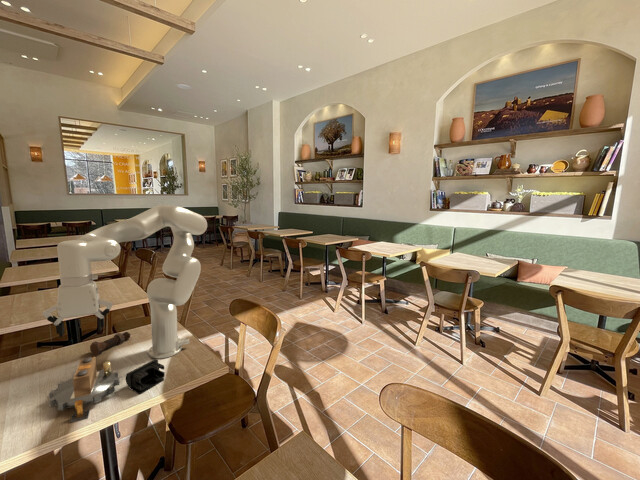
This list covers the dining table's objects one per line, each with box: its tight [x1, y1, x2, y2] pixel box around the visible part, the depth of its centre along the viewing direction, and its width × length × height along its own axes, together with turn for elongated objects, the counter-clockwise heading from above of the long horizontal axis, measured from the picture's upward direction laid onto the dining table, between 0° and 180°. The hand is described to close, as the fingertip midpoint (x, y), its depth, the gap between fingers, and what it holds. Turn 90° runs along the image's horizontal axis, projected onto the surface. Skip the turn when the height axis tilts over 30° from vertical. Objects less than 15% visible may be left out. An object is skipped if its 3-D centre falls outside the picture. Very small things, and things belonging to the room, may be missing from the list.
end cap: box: [125, 358, 165, 395], centre depth 104 cm, size 10×7×7 cm
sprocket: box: [48, 360, 121, 411], centre depth 97 cm, size 18×18×6 cm
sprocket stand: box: [70, 402, 90, 423], centre depth 93 cm, size 6×16×4 cm, turn 30°
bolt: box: [89, 331, 131, 356], centre depth 127 cm, size 6×5×15 cm
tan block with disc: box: [73, 356, 98, 397], centre depth 97 cm, size 4×12×7 cm, turn 29°
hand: (81, 332), depth 94 cm, fingers open, 9 cm apart
